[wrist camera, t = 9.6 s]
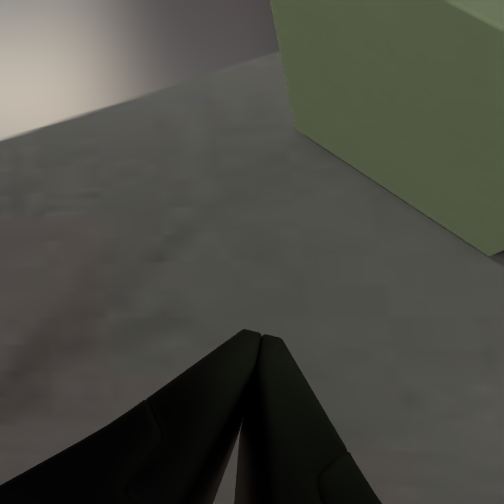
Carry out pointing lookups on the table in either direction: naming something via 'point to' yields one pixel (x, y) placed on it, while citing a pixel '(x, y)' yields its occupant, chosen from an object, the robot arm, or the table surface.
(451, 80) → the door
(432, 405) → the table surface
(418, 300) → the table surface
